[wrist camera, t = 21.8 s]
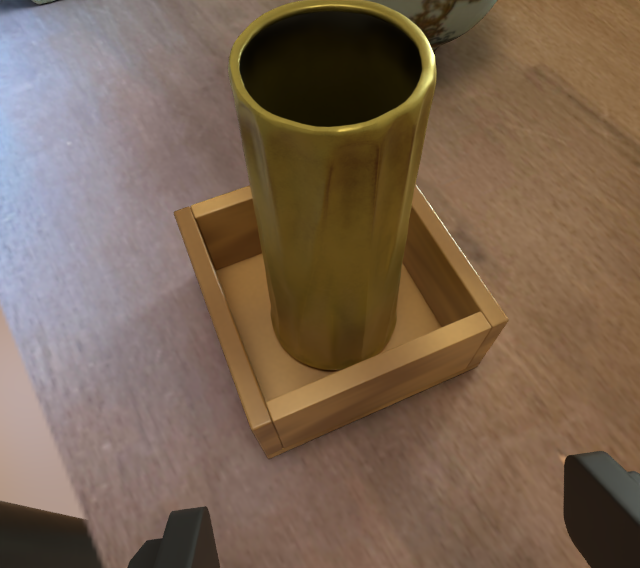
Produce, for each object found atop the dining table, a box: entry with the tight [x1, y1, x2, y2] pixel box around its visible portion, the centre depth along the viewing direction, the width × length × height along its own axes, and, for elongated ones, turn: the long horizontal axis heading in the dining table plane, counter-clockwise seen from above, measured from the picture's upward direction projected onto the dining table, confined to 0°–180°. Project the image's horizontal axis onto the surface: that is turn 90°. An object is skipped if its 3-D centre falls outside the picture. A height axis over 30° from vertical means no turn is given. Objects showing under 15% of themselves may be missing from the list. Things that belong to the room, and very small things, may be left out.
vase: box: [228, 0, 437, 370], centre depth 19 cm, size 6×6×14 cm
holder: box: [174, 184, 508, 459], centre depth 23 cm, size 11×11×5 cm
